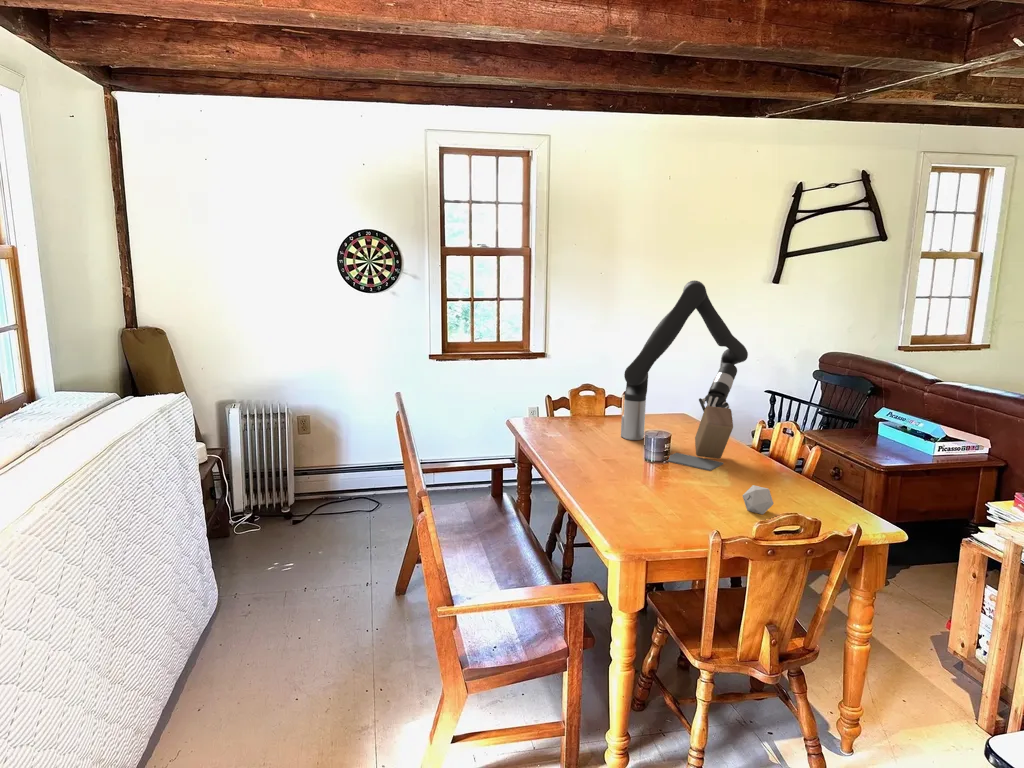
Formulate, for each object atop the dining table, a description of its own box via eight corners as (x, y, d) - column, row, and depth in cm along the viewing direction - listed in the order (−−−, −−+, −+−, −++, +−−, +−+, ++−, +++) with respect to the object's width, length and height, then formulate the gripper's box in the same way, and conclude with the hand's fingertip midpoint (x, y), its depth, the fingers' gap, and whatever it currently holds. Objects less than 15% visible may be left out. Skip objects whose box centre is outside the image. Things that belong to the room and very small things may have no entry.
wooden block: (719, 440, 274) (731, 407, 260) (721, 460, 268) (734, 427, 253) (694, 437, 275) (705, 404, 261) (695, 456, 268) (707, 424, 254)
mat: (661, 460, 266) (661, 458, 266) (676, 453, 275) (676, 452, 275) (709, 471, 253) (710, 469, 253) (723, 464, 262) (723, 462, 262)
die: (741, 506, 219) (735, 488, 213) (765, 494, 218) (759, 475, 213) (756, 524, 212) (750, 505, 206) (780, 511, 212) (775, 492, 206)
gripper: (703, 378, 278) (688, 412, 271) (734, 383, 269) (719, 418, 262) (708, 389, 282) (693, 423, 275) (739, 394, 274) (724, 429, 267)
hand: (706, 420), depth 269 cm, fingers closed
